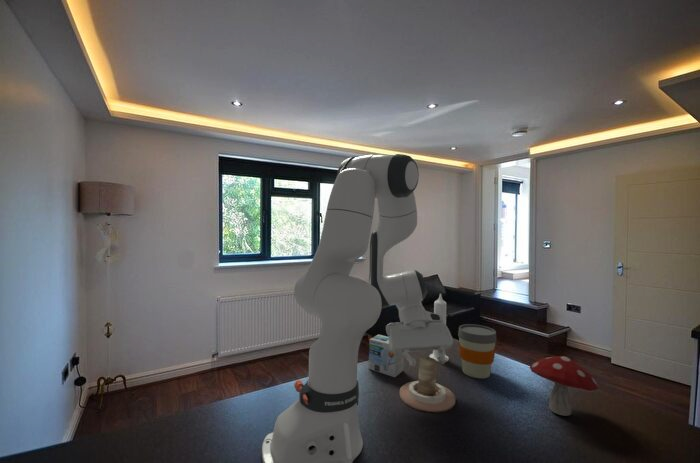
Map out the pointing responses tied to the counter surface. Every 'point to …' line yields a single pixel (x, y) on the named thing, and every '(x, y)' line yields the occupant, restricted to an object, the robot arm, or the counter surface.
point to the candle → (441, 310)
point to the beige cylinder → (427, 376)
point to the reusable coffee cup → (476, 349)
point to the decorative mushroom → (563, 380)
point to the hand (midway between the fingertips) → (428, 364)
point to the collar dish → (427, 398)
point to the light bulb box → (384, 357)
